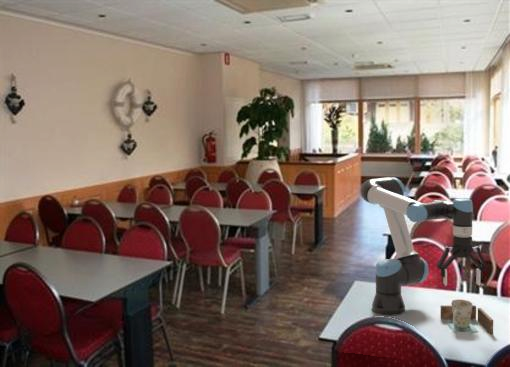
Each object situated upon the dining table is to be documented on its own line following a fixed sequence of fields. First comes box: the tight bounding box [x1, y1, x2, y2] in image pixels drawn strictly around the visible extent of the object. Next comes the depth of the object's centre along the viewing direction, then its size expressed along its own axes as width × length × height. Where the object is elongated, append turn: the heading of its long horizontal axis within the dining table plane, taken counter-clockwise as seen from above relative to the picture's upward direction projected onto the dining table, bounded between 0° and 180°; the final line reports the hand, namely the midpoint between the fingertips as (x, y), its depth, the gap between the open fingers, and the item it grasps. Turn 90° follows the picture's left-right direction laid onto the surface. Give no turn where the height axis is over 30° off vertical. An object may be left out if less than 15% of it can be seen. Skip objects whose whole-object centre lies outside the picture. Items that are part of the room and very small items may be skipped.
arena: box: [440, 304, 494, 335], centre depth 210 cm, size 16×17×6 cm
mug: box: [450, 299, 473, 328], centre depth 208 cm, size 8×13×10 cm, turn 137°
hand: (461, 284), depth 207 cm, fingers open, 13 cm apart
